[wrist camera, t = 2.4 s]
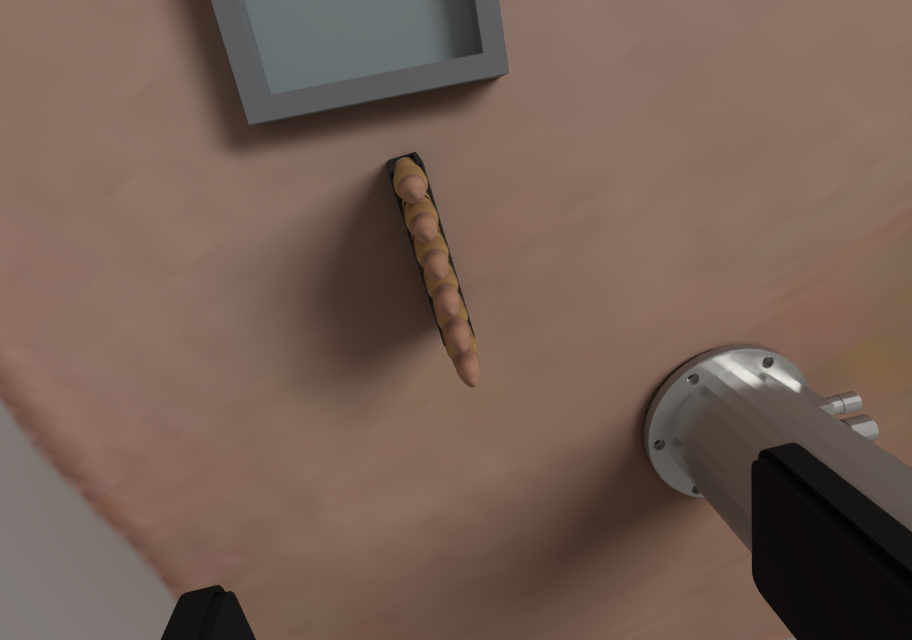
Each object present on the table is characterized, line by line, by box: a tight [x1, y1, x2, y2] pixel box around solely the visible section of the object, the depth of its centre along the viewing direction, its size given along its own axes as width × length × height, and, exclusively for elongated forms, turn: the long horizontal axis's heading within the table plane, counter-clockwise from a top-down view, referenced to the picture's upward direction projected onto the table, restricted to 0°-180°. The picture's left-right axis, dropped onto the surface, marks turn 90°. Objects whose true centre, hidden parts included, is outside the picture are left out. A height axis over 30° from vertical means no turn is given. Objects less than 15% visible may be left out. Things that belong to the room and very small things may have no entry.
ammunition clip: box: [388, 152, 480, 387], centre depth 29 cm, size 11×2×12 cm, turn 16°
